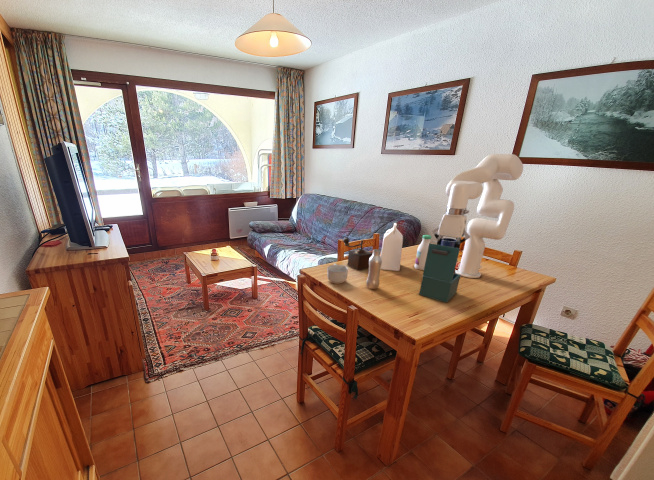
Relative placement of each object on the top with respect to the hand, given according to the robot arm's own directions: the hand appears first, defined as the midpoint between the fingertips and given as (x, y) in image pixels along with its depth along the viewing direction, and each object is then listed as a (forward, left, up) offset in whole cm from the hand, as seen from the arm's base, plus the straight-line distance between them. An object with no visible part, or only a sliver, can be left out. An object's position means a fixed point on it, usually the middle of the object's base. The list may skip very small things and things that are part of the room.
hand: (447, 249), depth 144 cm
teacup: (+32, -38, -22) cm, 55 cm away
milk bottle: (-24, -26, -22) cm, 42 cm away
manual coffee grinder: (+9, -48, -22) cm, 54 cm away
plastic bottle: (+23, -21, -22) cm, 38 cm away
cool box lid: (+8, +3, -4) cm, 9 cm away
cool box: (+1, +1, -22) cm, 22 cm away
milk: (-10, -38, -22) cm, 45 cm away
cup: (0, 0, -3) cm, 3 cm away
